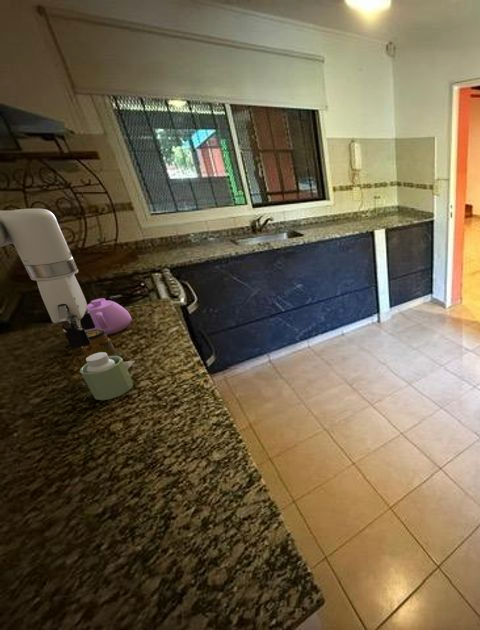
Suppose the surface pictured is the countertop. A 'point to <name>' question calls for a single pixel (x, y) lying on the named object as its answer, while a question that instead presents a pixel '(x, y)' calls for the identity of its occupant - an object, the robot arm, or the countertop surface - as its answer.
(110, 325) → the teapot
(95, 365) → the pill bottle
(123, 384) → the mug
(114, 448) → the countertop surface
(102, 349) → the condiment
